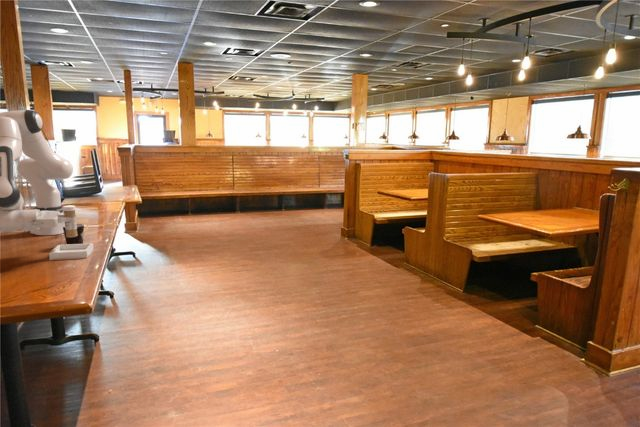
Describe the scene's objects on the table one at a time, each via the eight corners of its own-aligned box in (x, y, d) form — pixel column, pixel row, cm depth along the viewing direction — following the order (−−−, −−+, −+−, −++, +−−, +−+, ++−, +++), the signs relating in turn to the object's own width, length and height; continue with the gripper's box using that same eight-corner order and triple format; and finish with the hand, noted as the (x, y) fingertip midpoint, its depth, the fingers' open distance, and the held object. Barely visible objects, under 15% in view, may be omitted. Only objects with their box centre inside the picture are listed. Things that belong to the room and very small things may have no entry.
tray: (58, 251, 192) (58, 244, 192) (93, 249, 197) (93, 243, 196) (49, 260, 179) (49, 253, 179) (87, 258, 183) (86, 251, 183)
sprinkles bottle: (63, 236, 185) (60, 206, 183) (73, 234, 189) (70, 204, 187) (70, 238, 183) (67, 207, 181) (80, 235, 187) (77, 205, 185)
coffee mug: (76, 249, 196) (74, 228, 194) (59, 248, 198) (58, 226, 196) (94, 243, 207) (92, 223, 205) (78, 242, 209) (77, 221, 207)
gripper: (29, 216, 169) (69, 214, 175) (35, 208, 187) (72, 207, 193) (30, 232, 170) (70, 229, 176) (36, 223, 188) (72, 221, 194)
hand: (71, 218), depth 185 cm, fingers closed on sprinkles bottle, 4 cm apart
